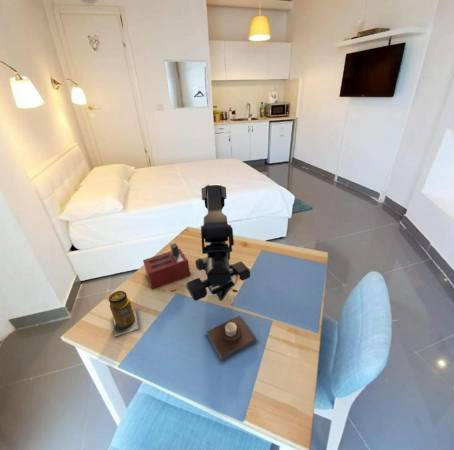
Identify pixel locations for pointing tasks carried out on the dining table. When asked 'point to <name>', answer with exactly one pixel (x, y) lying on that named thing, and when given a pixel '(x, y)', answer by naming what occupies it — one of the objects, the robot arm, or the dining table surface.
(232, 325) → the button
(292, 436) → the dining table surface
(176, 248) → the toaster slider
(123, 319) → the condiment
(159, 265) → the toaster
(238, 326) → the control block
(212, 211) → the robot arm
